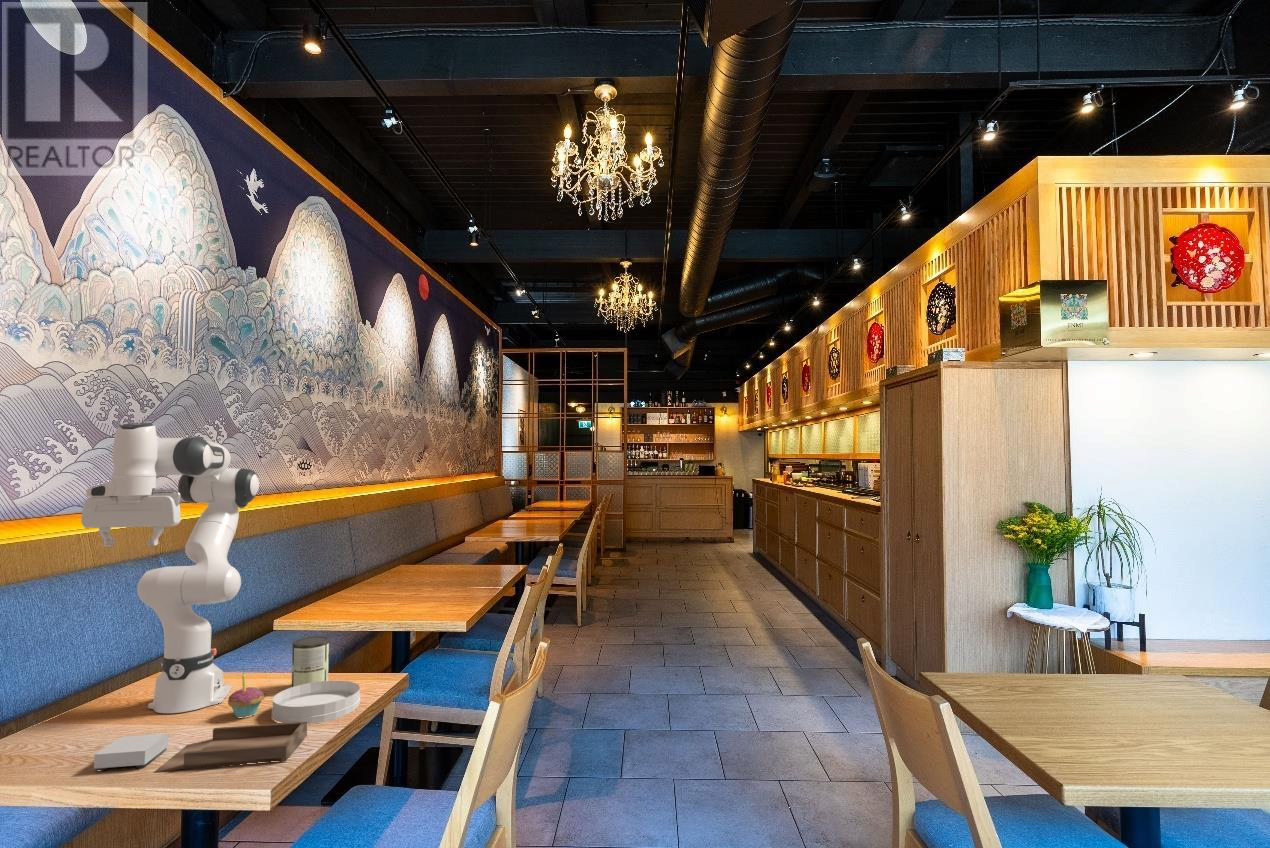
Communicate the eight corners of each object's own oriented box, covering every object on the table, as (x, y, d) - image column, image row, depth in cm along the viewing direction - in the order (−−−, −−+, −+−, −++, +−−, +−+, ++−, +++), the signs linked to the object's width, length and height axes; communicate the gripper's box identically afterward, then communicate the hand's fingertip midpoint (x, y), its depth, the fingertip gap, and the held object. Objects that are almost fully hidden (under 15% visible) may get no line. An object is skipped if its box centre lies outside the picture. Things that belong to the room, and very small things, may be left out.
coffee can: (285, 688, 201) (286, 640, 202) (318, 679, 209) (320, 634, 210) (300, 695, 194) (301, 646, 195) (334, 686, 202) (335, 639, 203)
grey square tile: (120, 754, 154) (121, 736, 155) (167, 750, 156) (168, 733, 156) (93, 773, 144) (94, 754, 145) (144, 769, 146) (145, 750, 147)
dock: (186, 747, 159) (187, 729, 159) (306, 738, 164) (307, 721, 164) (153, 775, 144) (154, 755, 145) (285, 764, 149) (286, 745, 149)
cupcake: (255, 720, 175) (257, 673, 176) (220, 722, 173) (222, 675, 174) (268, 708, 183) (269, 664, 184) (235, 710, 182) (236, 666, 183)
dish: (376, 699, 191) (376, 682, 191) (327, 729, 169) (328, 709, 169) (307, 696, 194) (307, 678, 195) (251, 724, 173) (252, 704, 173)
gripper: (187, 487, 166) (184, 543, 165) (95, 488, 162) (92, 545, 161) (174, 488, 160) (171, 546, 159) (78, 489, 156) (75, 548, 155)
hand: (131, 545), depth 160 cm, fingers open, 8 cm apart
